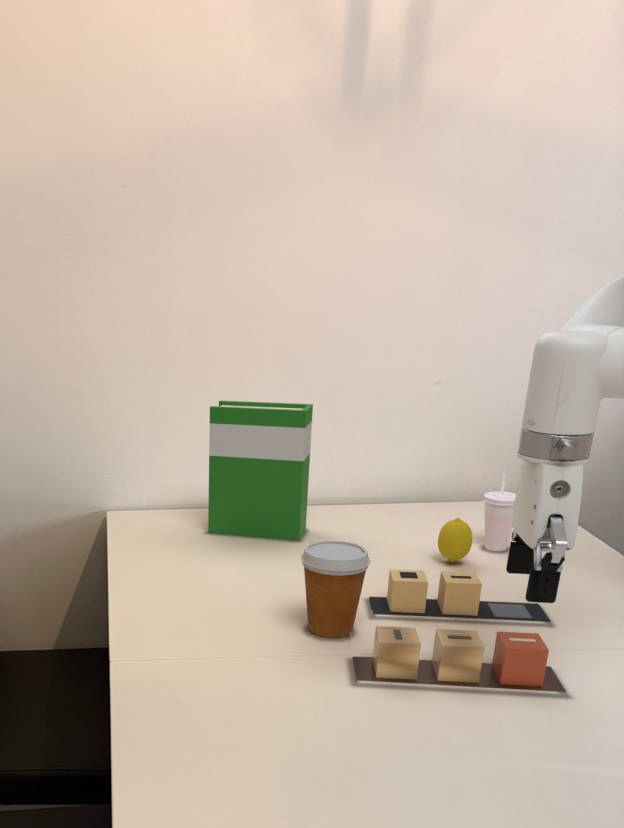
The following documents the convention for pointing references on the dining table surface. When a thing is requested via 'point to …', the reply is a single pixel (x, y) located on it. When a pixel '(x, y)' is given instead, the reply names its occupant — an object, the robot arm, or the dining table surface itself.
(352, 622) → the disposable coffee cup
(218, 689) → the dining table surface
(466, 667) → the front word
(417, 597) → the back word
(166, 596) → the dining table surface
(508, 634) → the block
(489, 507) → the smoothie
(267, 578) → the dining table surface
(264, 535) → the hardback book
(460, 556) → the lemon
